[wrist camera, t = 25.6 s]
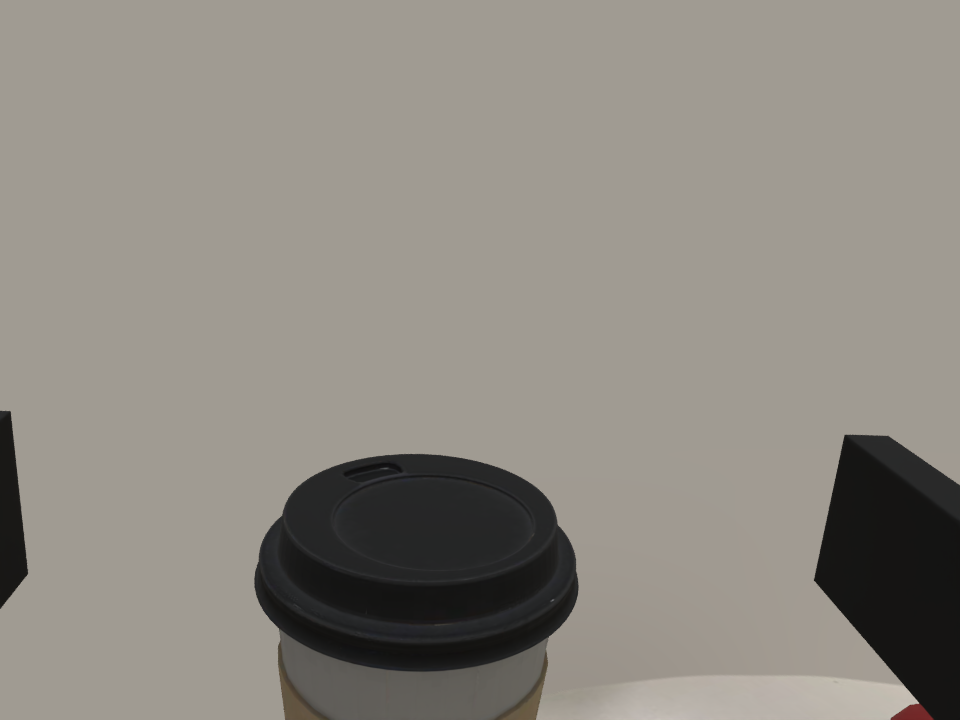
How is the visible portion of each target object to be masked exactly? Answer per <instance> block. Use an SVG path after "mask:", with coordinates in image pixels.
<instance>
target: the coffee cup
mask: <svg viewBox="0 0 960 720" xmlns="http://www.w3.org/2000/svg"><path fill="white" fill-rule="evenodd" d="M255 590H256V595H257V598H258V601H259V603H260V605H261V607H262V609H263V611H264V612H265V613H266V615H267V616H268V617H269V619H270V620H271V621H272V622H273V623H274V624H275V625H276V626H277V627H278V628H279V632H280V643H279V646H278V667H279V675H280V682H281V690H282V698H283V705H284V712H285V720H536V716H537V712H538V707H539V703H540V698H541V694H542V688H543V685H544V680H545V676H546V671H547V666H548V660H547V653H546V647H547V642H548V638H549V636H550V635H552V634H553V633H554V632H555V631H556V630H557V629H558V628H559V627H560V626H561V625H562V624H563V623H564V622H565V620H566V619H567V618H568V616H569V615H570V613H571V612H572V610H573V608H574V605H575V603H576V600H577V596H578V578H577V573H576V558H575V553H574V550H573V548H572V545H571V543H570V541H569V539H568V537H567V536H566V534H565V533H564V532H563V530H562V529H561V528H560V527H559V526H558V525H557V518H556V514H555V511H554V509H553V506H552V505H551V503H550V501H549V500H548V499H547V497H546V496H545V495H544V494H543V493H542V492H541V491H540V490H539V489H537V488H536V487H535V486H533V485H532V484H531V483H529V482H528V481H526V480H524V479H522V478H521V477H519V476H517V475H515V474H513V473H510V472H508V471H506V470H503V469H501V468H498V467H495V466H492V465H488V464H484V463H481V462H477V461H473V460H468V459H463V458H457V457H449V456H441V455H428V454H399V455H385V456H376V457H370V458H364V459H359V460H355V461H351V462H347V463H343V464H340V465H337V466H334V467H331V468H329V469H326V470H324V471H322V472H320V473H318V474H316V475H314V476H312V477H310V478H309V479H307V480H306V481H305V482H303V483H302V484H301V485H300V486H298V487H297V488H296V490H294V491H293V493H292V494H291V495H290V497H289V498H288V500H287V502H286V505H285V507H284V510H283V514H282V516H281V517H280V518H279V519H278V520H277V521H276V522H275V523H274V524H273V525H272V526H271V528H270V529H269V531H268V532H267V534H266V535H265V537H264V539H263V541H262V544H261V547H260V553H259V562H258V565H257V568H256V571H255Z"/></svg>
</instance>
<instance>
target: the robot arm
mask: <svg viewBox="0 0 960 720" xmlns="http://www.w3.org/2000/svg"><path fill="white" fill-rule="evenodd" d="M27 574H28V569H27V559H26V550H25V541H24V532H23V522H22V514H21V504H20V495H19V485H18V476H17V467H16V458H15V448H14V440H13V431H12V421H11V412H10V411H0V609H1V607H2V606H3V605H4V604H5V602H6V601H7V600H8V598H9V597H10V596H11V595H12V593H13V592H14V591H15V589H16V588H17V587H18V586H19V585H20V583H21V582H22V581H23V579H24V578H25V577H26V576H27ZM814 581H815V582H816V583H817V584H818V585H819V587H820V588H821V589H822V590H823V591H824V593H825V594H826V595H827V596H828V597H829V598H830V599H831V601H832V602H833V603H834V604H835V605H836V606H837V608H838V609H839V610H840V611H841V612H842V613H843V615H844V616H845V617H846V618H847V619H848V620H849V622H850V623H851V624H852V625H853V626H854V627H855V629H856V630H857V631H858V632H859V633H860V634H861V636H862V637H863V638H864V639H865V640H866V641H867V643H868V644H869V645H870V646H871V647H872V648H873V649H874V650H875V652H876V653H877V654H878V655H879V656H880V658H881V659H882V660H883V661H884V662H885V663H886V665H887V666H888V667H889V668H890V669H891V670H892V672H893V673H894V674H895V675H896V676H897V677H898V679H899V680H900V681H901V682H902V683H903V684H904V686H905V687H906V688H907V689H908V690H909V691H910V693H911V694H912V695H913V696H914V697H915V698H916V700H917V701H918V702H919V703H920V704H921V705H922V707H923V708H924V709H925V710H926V711H927V712H928V714H929V715H930V716H931V717H932V718H933V719H934V720H960V485H959V484H957V483H956V482H954V481H953V480H951V479H950V478H948V477H947V476H945V475H944V474H943V473H941V472H940V471H938V470H937V469H935V468H934V467H932V466H931V465H929V464H928V463H927V462H925V461H924V460H922V459H921V458H919V457H918V456H917V455H915V454H914V453H912V452H911V451H909V450H908V449H906V448H905V447H903V446H902V445H901V444H899V443H898V442H896V441H895V440H893V439H892V438H890V437H889V436H872V435H871V436H869V435H845V436H844V441H843V445H842V450H841V455H840V460H839V464H838V469H837V474H836V479H835V484H834V488H833V493H832V497H831V502H830V507H829V511H828V516H827V521H826V526H825V531H824V535H823V540H822V545H821V549H820V554H819V559H818V564H817V568H816V573H815V578H814Z"/></svg>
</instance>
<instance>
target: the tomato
mask: <svg viewBox="0 0 960 720" xmlns="http://www.w3.org/2000/svg"><path fill="white" fill-rule="evenodd" d="M891 720H934V719H933V718H932V717H931V716H930V715H929V714H928V712H927V711H926V710H925V709H924V708H923V707H922V705H921V704H920V703H919V704H914V705H909V706H908V707H906V708H905V709H903V710H902V711H901V712H899V713H898V714H896V715H895V716H893V717H892V718H891Z"/></svg>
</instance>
